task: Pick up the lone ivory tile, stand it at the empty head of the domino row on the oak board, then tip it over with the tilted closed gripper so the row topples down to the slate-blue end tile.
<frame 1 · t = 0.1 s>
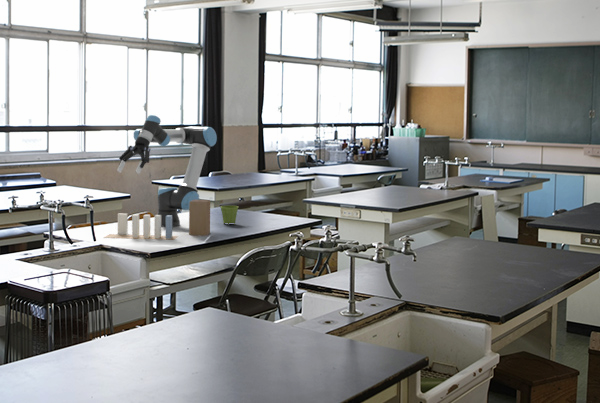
hand: (127, 172, 367), 36 cm above the worktop, tool tilted 35°, fingers open, 13 cm apart
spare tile: (122, 235, 377), on the worktop
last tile: (168, 237, 367), point 1 cm above the worktop, touching oak board
tile 3: (146, 237, 367), point 1 cm above the worktop, touching oak board
oak board: (141, 238, 367), on the worktop
tile 4: (157, 237, 367), point 1 cm above the worktop, touching oak board
tile 2: (135, 236, 367), point 1 cm above the worktop, touching oak board
plant pot: (229, 224, 428), on the worktop
wooden block: (199, 236, 383), on the worktop
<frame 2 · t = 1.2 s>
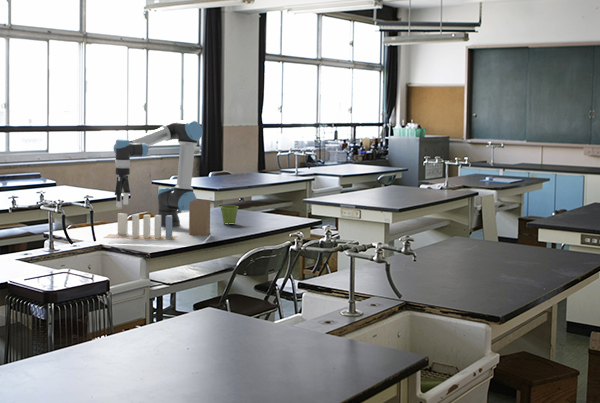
hand: (122, 205, 375), 16 cm above the worktop, tool pointing down, fingers open, 13 cm apart
nothing on the worktop moved.
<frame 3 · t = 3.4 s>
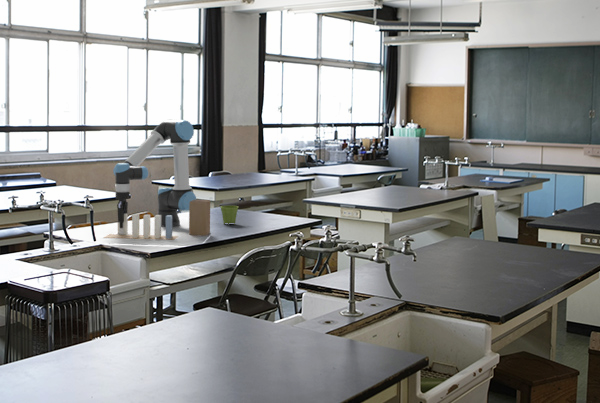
hand: (122, 233, 377), 1 cm above the worktop, tool pointing down, fingers closed on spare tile, 3 cm apart
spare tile: (122, 235, 377), on the worktop, touching gripper
everything else where it was.
when the fingers open (3 cm above the worktop, at t = 7.9 s): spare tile stays where it is, resting on oak board.
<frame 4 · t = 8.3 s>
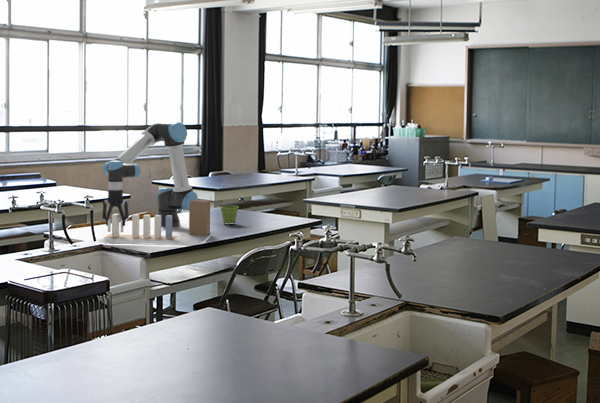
hand: (115, 231, 367), 3 cm above the worktop, tool pointing down, fingers open, 6 cm apart
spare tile: (115, 236, 367), point 1 cm above the worktop, touching oak board
everything else where it was.
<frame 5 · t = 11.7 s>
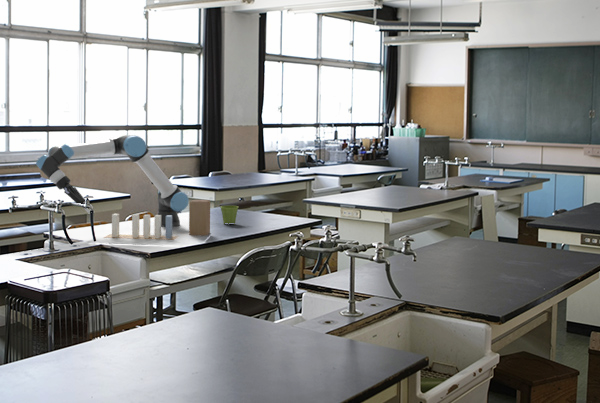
hand: (91, 212, 366), 14 cm above the worktop, tool tilted 45°, fingers closed
nothing on the worktop moved.
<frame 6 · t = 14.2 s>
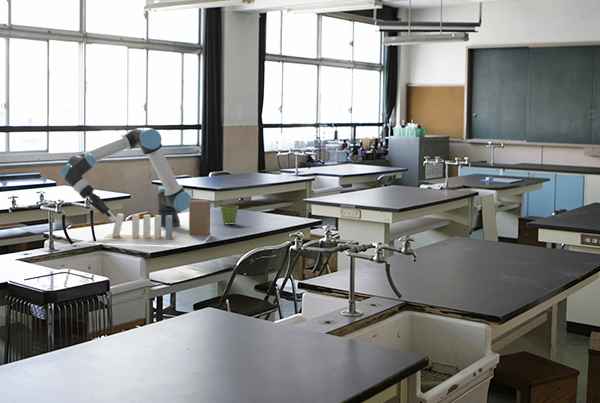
hand: (114, 220, 366), 10 cm above the worktop, tool tilted 45°, fingers closed
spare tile: (115, 235, 367), point 1 cm above the worktop, tilted 13°, touching oak board
everything else where it was.
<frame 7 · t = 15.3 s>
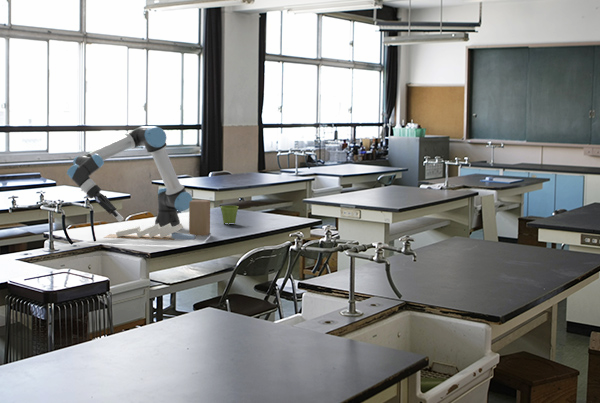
hand: (121, 220, 366), 10 cm above the worktop, tool tilted 45°, fingers closed
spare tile: (117, 233, 367), point 2 cm above the worktop, tilted 76°, touching oak board, tile 2
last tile: (172, 235, 367), point 3 cm above the worktop, tilted 96°, touching oak board, tile 4
tile 3: (150, 235, 367), point 2 cm above the worktop, tilted 63°, touching oak board, tile 2, tile 4
tile 4: (161, 235, 367), point 2 cm above the worktop, tilted 63°, touching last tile, tile 3
tile 2: (138, 234, 367), point 2 cm above the worktop, tilted 65°, touching oak board, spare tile, tile 3
everything else where it was.
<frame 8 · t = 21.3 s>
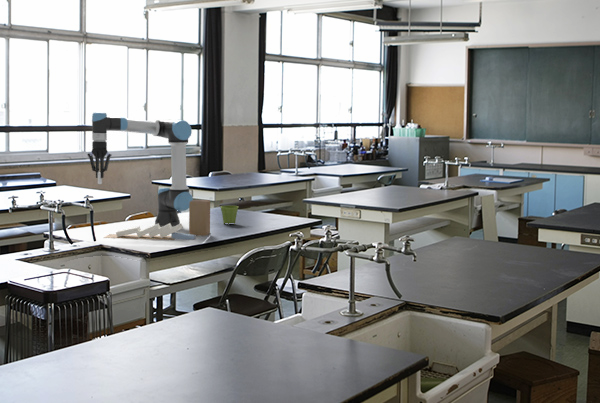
hand: (99, 184, 372), 28 cm above the worktop, tool pointing down, fingers closed
nothing on the worktop moved.
at the end: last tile tilted 96°; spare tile inside the target area (1.2 cm from its centre), point 2.3 cm above the worktop; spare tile tilted 76° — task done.
